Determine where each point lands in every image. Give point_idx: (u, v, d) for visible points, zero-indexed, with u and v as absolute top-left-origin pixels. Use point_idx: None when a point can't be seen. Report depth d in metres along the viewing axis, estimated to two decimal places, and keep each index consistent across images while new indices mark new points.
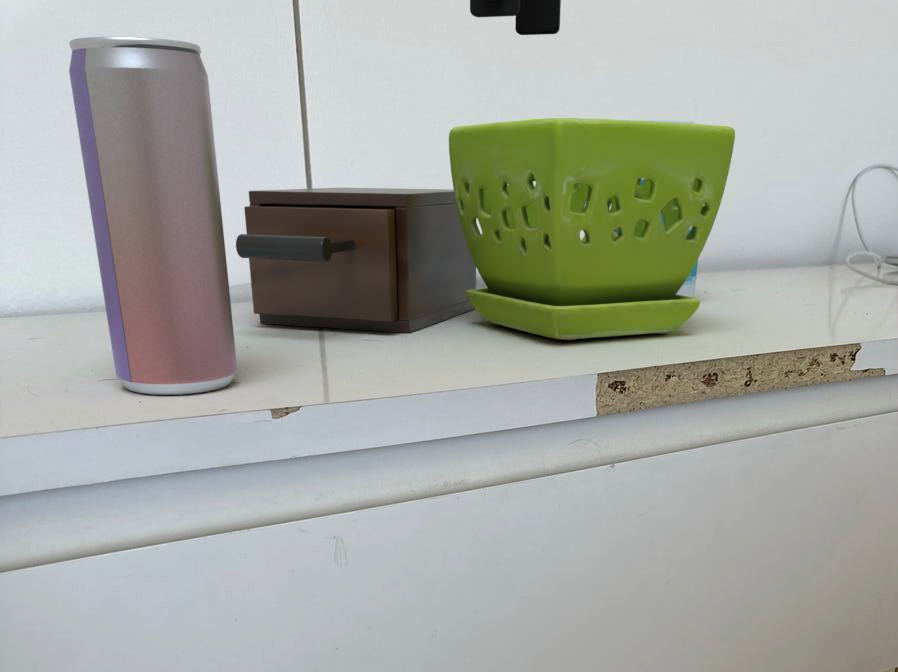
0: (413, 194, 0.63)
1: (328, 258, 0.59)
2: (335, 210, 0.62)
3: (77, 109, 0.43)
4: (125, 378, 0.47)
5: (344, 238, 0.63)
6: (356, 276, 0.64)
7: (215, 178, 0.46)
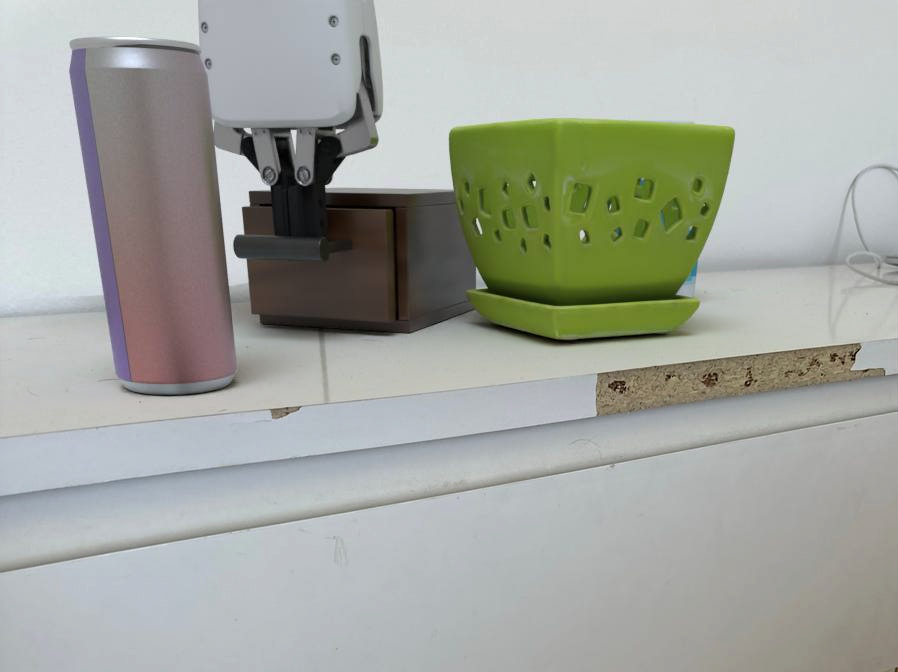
0: (413, 194, 0.63)
1: (326, 258, 0.59)
2: (333, 210, 0.62)
3: (77, 109, 0.43)
4: (125, 378, 0.47)
5: (342, 238, 0.62)
6: (354, 276, 0.63)
7: (215, 178, 0.46)
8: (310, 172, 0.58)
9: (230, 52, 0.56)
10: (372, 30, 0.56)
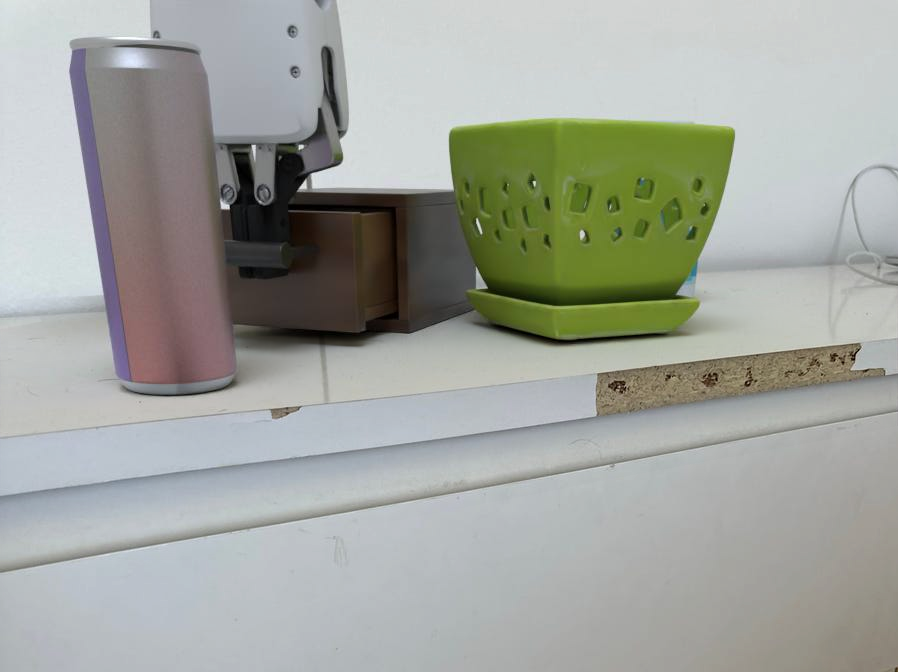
0: (413, 194, 0.63)
1: (288, 265, 0.55)
2: (297, 213, 0.58)
3: (77, 109, 0.43)
4: (125, 378, 0.47)
5: (307, 243, 0.59)
6: (320, 283, 0.59)
7: (215, 178, 0.46)
8: (271, 191, 0.55)
9: None
10: (335, 40, 0.52)
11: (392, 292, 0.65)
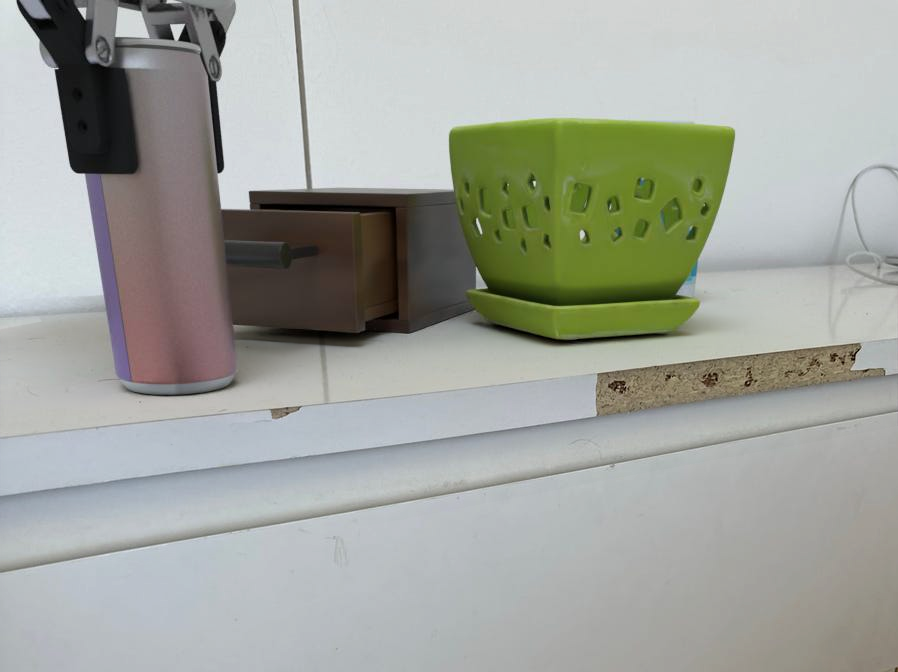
0: (413, 194, 0.63)
1: (287, 265, 0.55)
2: (297, 213, 0.58)
3: None
4: (126, 378, 0.47)
5: (307, 243, 0.58)
6: (320, 283, 0.59)
7: (215, 178, 0.46)
8: None
9: None
10: None
11: (392, 292, 0.65)
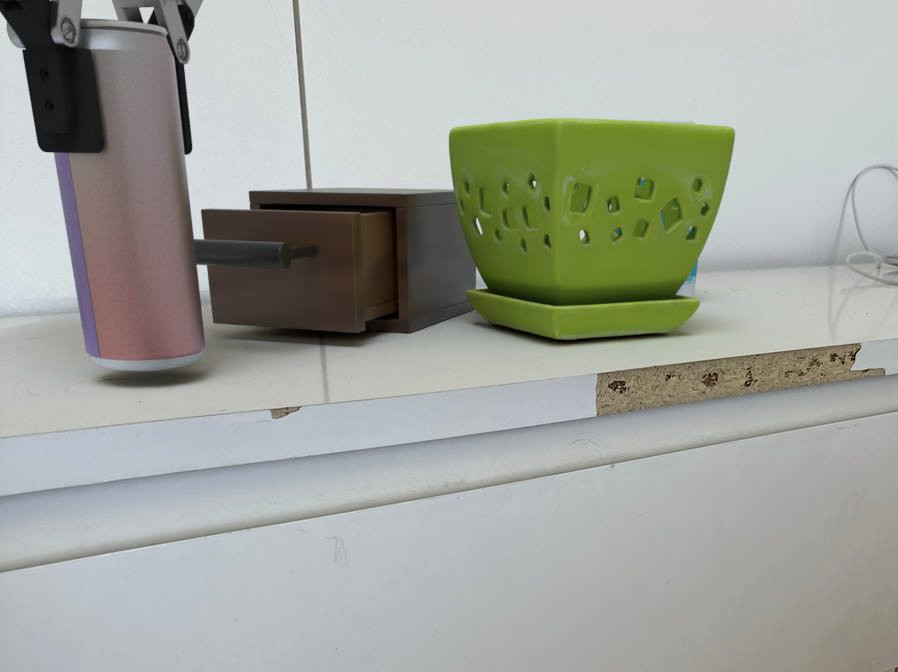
0: (413, 194, 0.63)
1: (287, 265, 0.55)
2: (297, 213, 0.58)
3: None
4: (94, 355, 0.49)
5: (307, 243, 0.58)
6: (320, 283, 0.59)
7: (182, 158, 0.47)
8: None
9: None
10: None
11: (392, 292, 0.65)
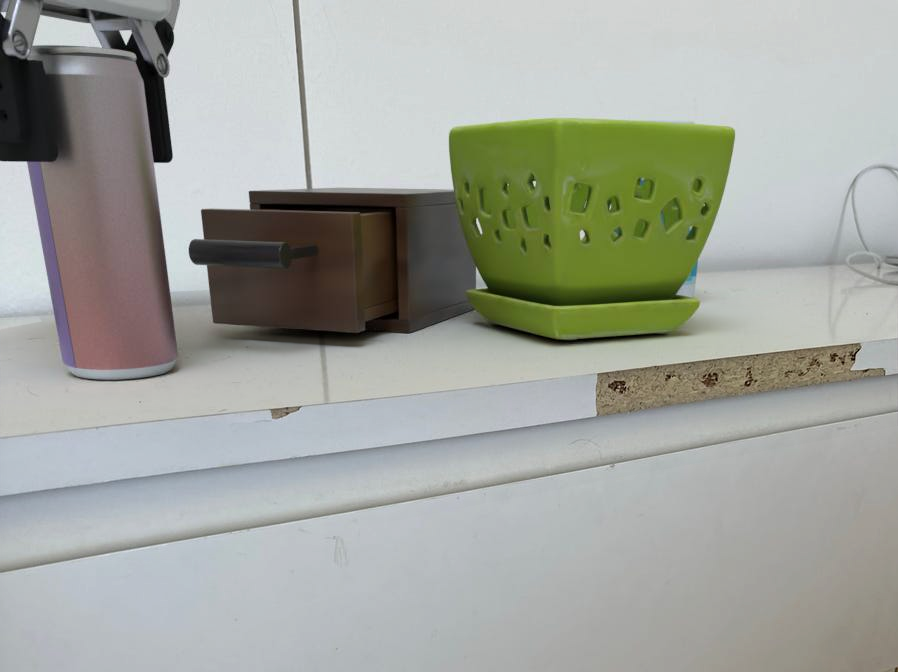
0: (413, 194, 0.63)
1: (287, 265, 0.55)
2: (297, 213, 0.58)
3: None
4: (70, 364, 0.51)
5: (307, 243, 0.58)
6: (320, 283, 0.59)
7: (152, 176, 0.49)
8: None
9: None
10: None
11: (392, 292, 0.65)
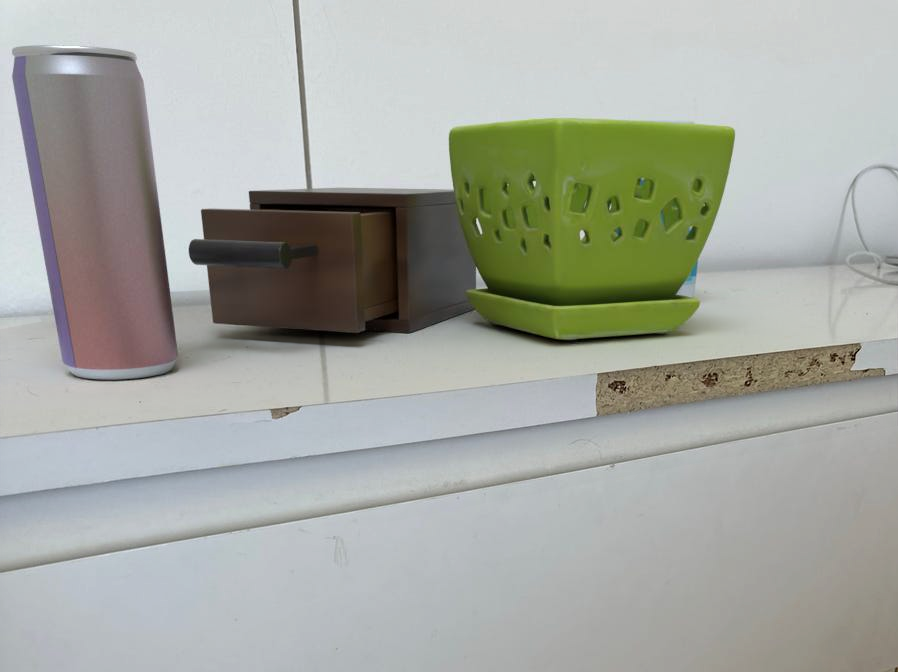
0: (413, 194, 0.63)
1: (287, 265, 0.55)
2: (297, 213, 0.58)
3: (20, 112, 0.46)
4: (70, 364, 0.51)
5: (307, 243, 0.58)
6: (320, 283, 0.59)
7: (152, 176, 0.49)
8: None
9: None
10: None
11: (392, 292, 0.65)
